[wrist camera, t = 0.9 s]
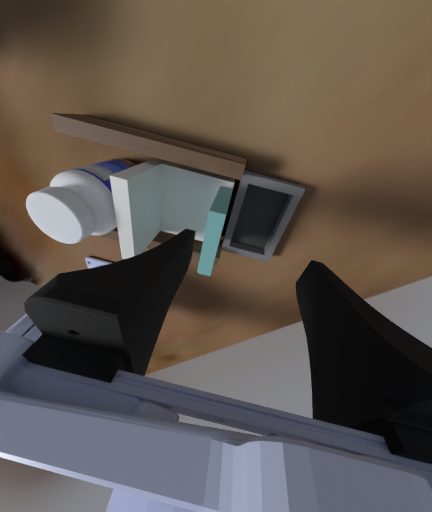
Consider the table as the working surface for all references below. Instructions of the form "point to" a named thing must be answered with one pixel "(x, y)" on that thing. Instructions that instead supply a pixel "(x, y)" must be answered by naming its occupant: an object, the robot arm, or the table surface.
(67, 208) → the pill bottle
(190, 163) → the channel
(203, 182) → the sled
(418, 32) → the table surface
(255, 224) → the tray
